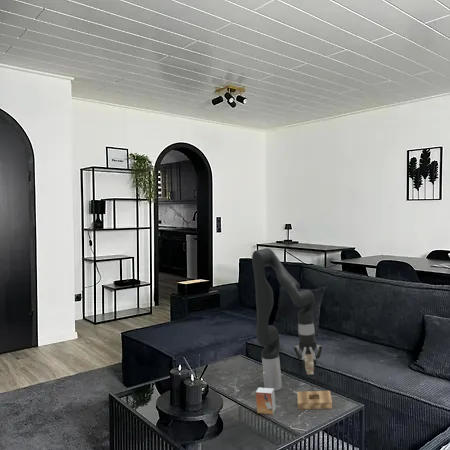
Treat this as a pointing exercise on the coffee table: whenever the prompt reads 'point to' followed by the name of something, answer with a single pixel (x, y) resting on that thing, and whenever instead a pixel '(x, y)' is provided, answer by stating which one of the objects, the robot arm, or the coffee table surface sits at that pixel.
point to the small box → (265, 400)
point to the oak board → (314, 400)
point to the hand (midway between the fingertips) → (309, 366)
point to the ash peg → (309, 363)
